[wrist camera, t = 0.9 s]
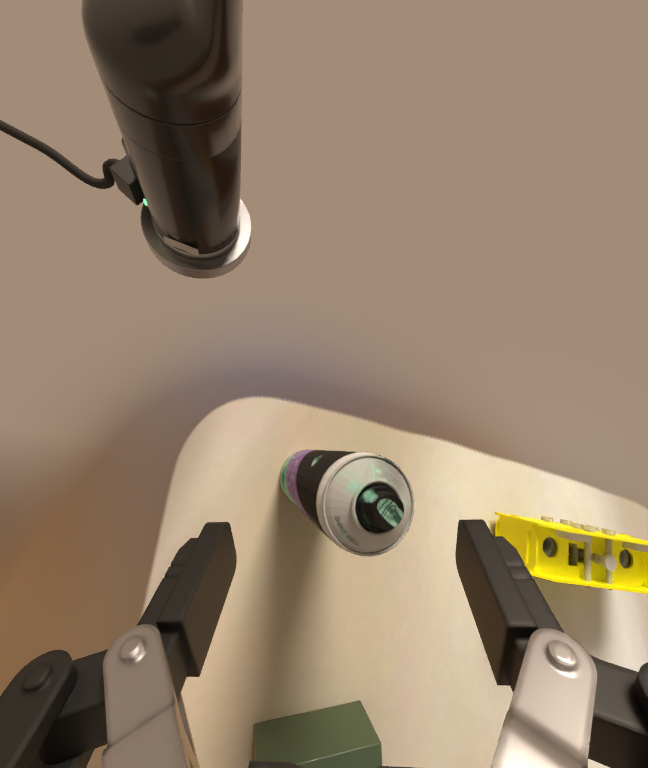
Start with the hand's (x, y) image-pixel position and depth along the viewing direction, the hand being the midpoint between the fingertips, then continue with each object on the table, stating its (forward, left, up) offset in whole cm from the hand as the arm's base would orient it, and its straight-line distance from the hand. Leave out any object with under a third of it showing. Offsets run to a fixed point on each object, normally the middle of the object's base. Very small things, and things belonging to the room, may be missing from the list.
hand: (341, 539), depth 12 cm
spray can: (+3, +2, -24) cm, 24 cm away
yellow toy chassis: (+30, +15, -24) cm, 41 cm away
